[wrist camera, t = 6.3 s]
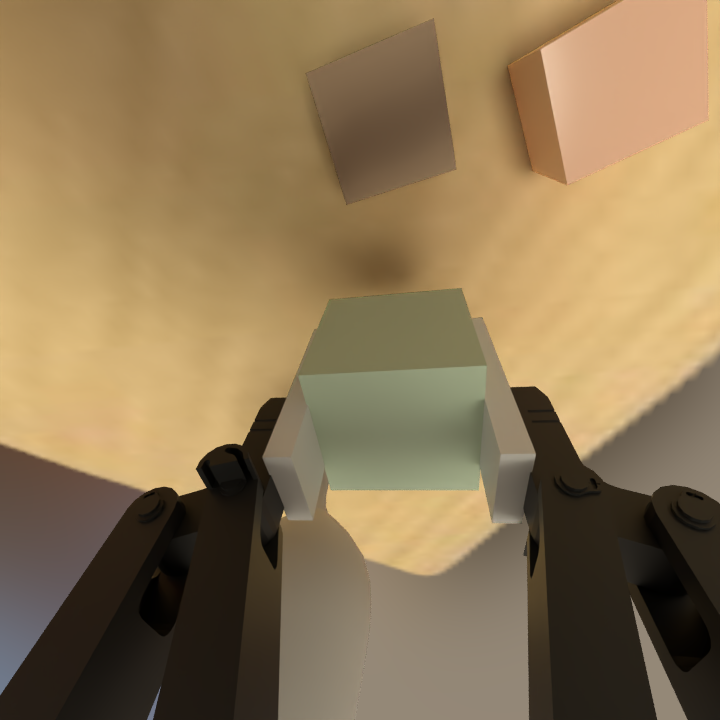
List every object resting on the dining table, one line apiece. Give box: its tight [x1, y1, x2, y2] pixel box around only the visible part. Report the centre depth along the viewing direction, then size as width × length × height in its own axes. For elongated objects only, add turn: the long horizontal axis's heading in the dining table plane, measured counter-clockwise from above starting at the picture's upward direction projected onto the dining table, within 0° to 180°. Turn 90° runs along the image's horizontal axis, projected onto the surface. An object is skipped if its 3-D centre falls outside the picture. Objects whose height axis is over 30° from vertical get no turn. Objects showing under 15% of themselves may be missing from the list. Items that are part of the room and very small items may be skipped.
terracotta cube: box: [508, 0, 709, 185], centre depth 15 cm, size 5×5×5 cm
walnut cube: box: [306, 18, 456, 205], centre depth 17 cm, size 5×5×5 cm
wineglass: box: [278, 469, 371, 720], centre depth 22 cm, size 8×8×21 cm
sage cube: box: [298, 288, 487, 490], centre depth 13 cm, size 5×5×5 cm
